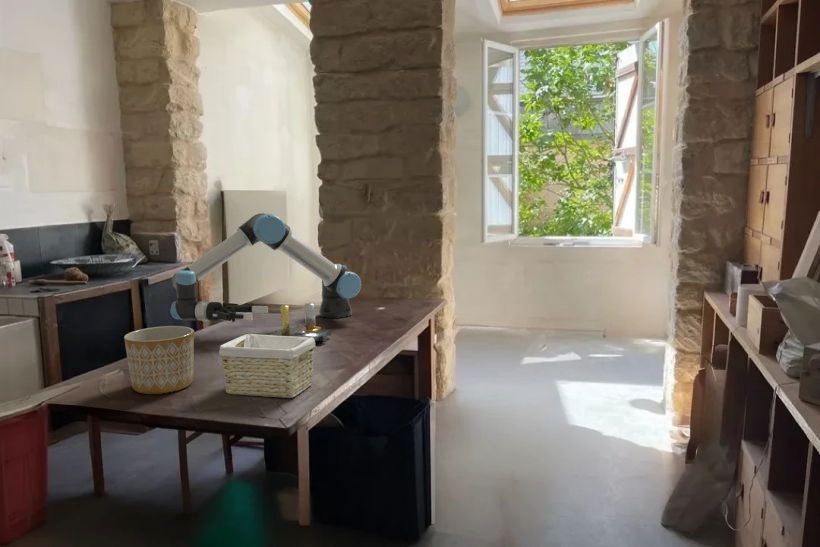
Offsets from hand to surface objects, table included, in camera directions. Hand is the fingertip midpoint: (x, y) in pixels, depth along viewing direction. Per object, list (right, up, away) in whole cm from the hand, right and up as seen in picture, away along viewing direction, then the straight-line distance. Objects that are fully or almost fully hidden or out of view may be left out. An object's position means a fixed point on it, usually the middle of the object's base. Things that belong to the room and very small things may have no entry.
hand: (260, 313), depth 240 cm
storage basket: (+16, -19, -56) cm, 62 cm away
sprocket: (+16, -9, +1) cm, 18 cm away
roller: (+18, -7, +6) cm, 21 cm away
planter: (-17, -19, -53) cm, 58 cm away
